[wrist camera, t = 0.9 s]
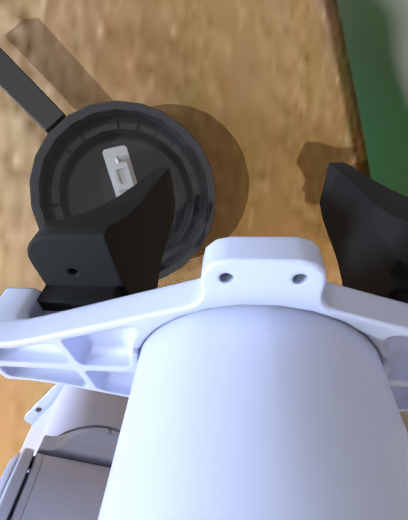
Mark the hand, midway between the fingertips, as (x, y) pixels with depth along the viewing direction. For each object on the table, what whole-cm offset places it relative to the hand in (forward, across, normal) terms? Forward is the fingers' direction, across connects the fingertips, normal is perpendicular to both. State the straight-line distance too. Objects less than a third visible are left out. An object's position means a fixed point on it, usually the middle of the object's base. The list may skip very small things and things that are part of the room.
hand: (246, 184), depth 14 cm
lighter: (+9, +10, +6) cm, 15 cm away
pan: (+9, +10, +6) cm, 15 cm away
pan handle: (+10, +16, -3) cm, 19 cm away
